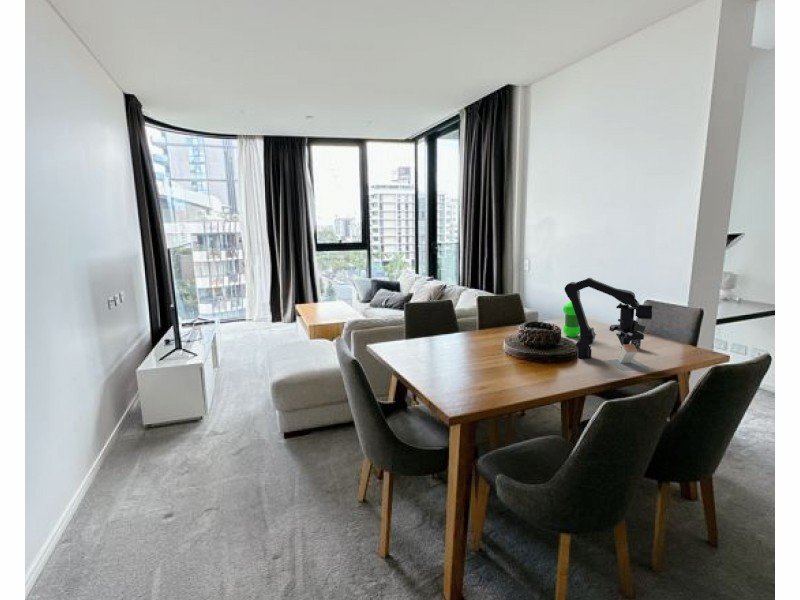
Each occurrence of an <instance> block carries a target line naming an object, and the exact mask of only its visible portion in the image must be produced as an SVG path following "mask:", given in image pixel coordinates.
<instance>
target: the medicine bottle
mask: <svg viewBox="0 0 800 600" xmlns="http://www.w3.org/2000/svg"><path fill="white" fill-rule="evenodd" d="M632 332H638V331H637V330H636V331H632ZM627 333H628V332H627ZM641 342H642V340H631V341H630V343H629V344H634V346H635V347H636V349H639V348H640V349H641ZM621 347H622V345H621V342H620V341H619V348H621Z"/></svg>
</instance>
